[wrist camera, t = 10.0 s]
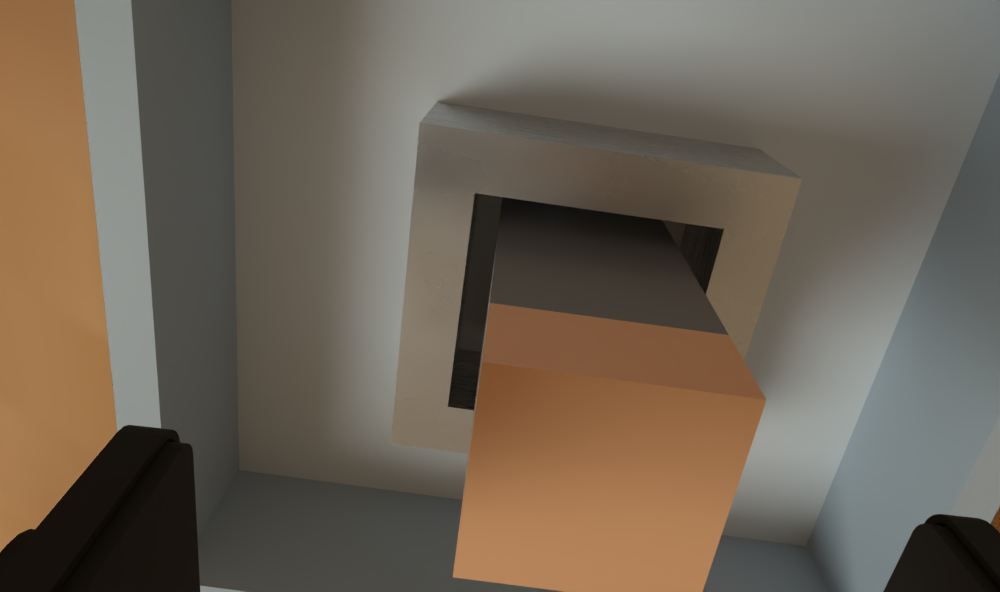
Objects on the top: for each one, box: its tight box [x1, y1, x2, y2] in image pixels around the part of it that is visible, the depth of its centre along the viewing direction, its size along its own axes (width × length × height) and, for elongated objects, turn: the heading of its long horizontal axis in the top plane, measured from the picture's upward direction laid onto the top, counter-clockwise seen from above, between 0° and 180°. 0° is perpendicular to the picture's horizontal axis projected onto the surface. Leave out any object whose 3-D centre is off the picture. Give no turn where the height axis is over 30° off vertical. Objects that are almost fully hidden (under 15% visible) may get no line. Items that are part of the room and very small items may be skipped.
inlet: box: [391, 101, 802, 454], centre depth 17 cm, size 8×8×3 cm
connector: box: [453, 197, 766, 592], centre depth 15 cm, size 4×4×9 cm
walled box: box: [74, 0, 1000, 592], centre depth 17 cm, size 20×18×5 cm
